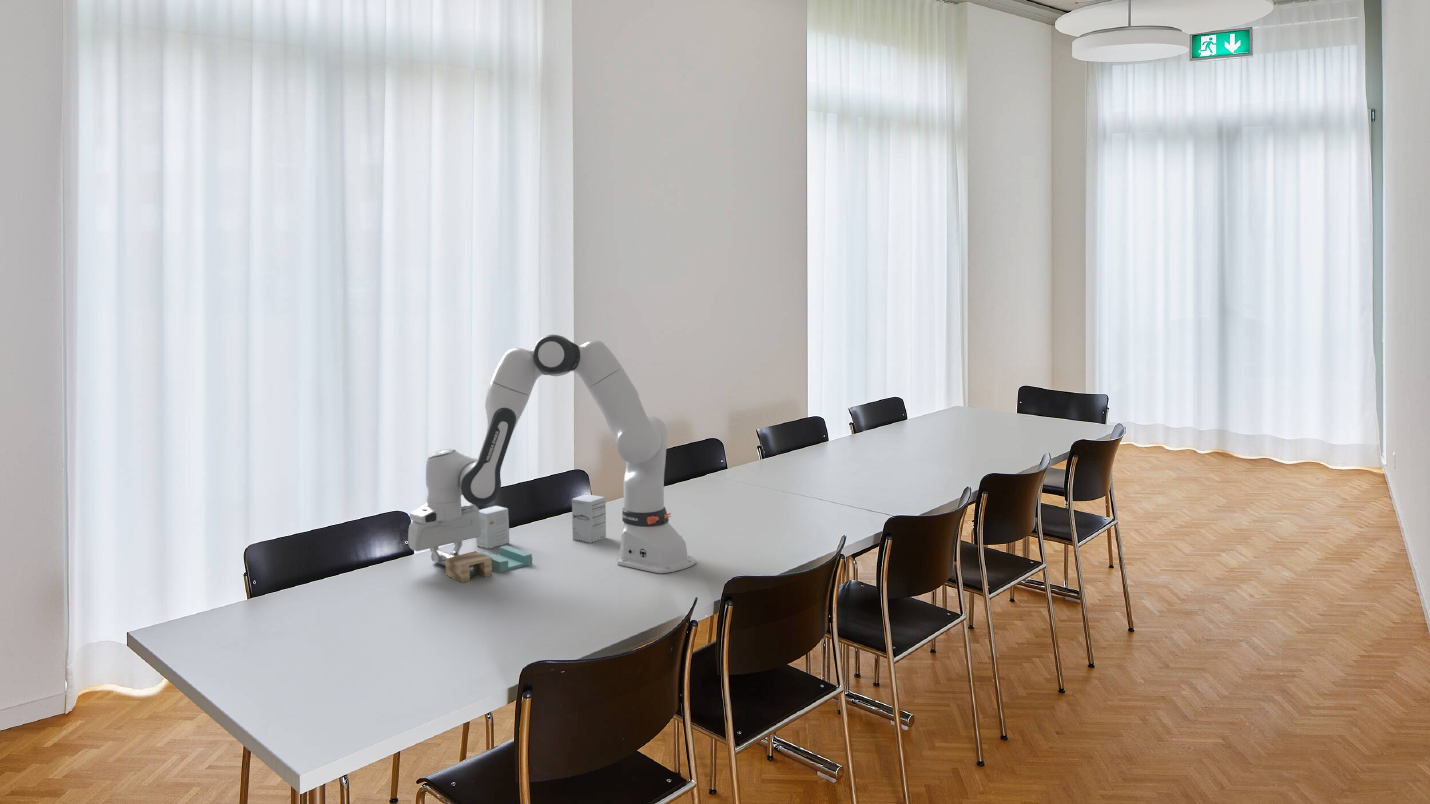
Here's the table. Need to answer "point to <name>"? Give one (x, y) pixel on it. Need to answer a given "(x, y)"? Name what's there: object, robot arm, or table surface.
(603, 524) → the supplement box
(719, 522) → the table surface
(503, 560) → the cradle
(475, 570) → the axle
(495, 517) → the small box
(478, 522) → the robot arm
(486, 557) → the wooden bridge block
